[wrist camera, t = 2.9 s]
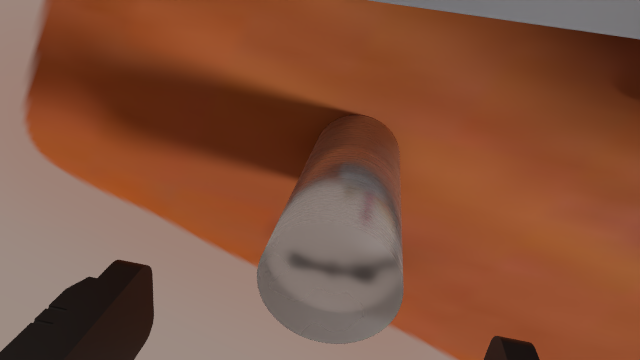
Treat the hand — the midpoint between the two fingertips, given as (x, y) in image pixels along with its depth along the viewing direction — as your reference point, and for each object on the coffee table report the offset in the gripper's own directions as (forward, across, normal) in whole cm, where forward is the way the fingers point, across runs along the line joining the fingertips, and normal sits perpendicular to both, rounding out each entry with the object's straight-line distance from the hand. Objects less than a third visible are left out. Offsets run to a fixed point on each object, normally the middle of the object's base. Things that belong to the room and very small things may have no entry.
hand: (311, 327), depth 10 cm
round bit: (+12, 0, 0) cm, 12 cm away
